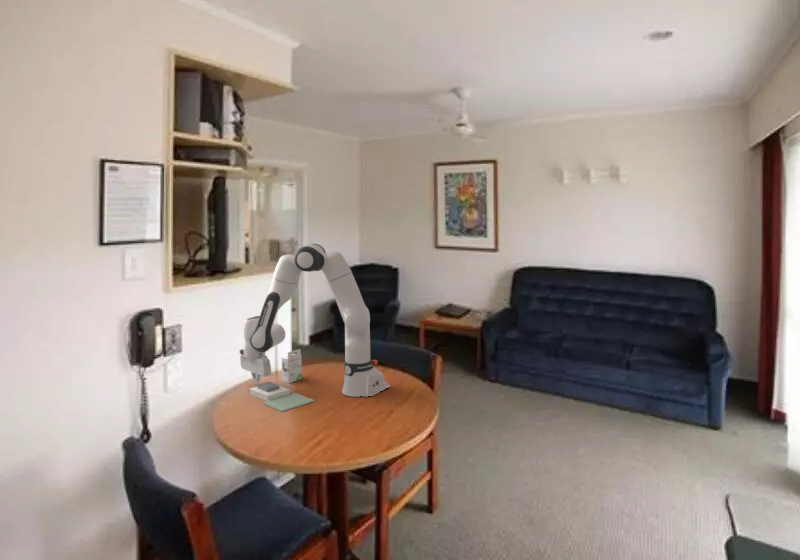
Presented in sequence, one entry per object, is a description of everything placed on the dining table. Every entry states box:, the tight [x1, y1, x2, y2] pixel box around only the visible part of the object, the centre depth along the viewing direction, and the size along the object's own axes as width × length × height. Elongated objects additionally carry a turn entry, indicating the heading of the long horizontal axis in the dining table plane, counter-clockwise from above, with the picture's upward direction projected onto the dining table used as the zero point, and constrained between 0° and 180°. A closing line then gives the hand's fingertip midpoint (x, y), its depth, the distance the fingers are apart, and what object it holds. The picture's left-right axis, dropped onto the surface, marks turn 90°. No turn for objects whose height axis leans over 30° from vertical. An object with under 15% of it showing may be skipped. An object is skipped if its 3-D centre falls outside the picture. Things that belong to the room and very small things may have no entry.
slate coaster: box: [256, 381, 280, 392], centre depth 216 cm, size 6×8×2 cm
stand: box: [249, 385, 291, 402], centre depth 216 cm, size 11×14×2 cm
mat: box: [262, 392, 316, 413], centre depth 206 cm, size 16×14×1 cm
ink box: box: [281, 348, 303, 384], centre depth 235 cm, size 9×5×15 cm, turn 144°
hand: (256, 381), depth 223 cm, fingers closed
